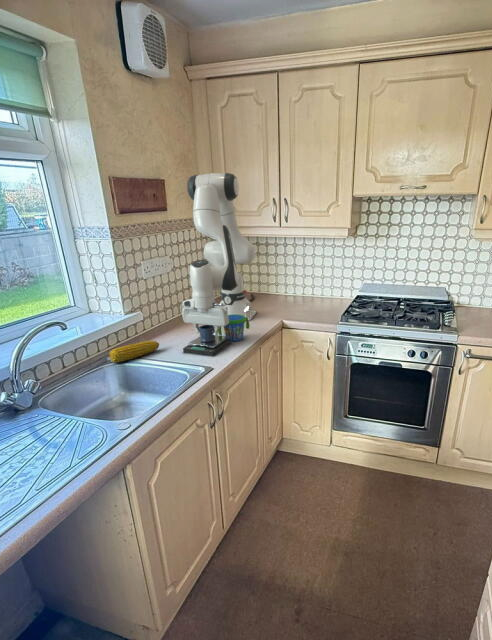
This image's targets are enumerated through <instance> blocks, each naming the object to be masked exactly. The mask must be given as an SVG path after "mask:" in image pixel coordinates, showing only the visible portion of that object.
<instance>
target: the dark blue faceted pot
mask: <svg viewBox="0 0 492 640" xmlns="http://www.w3.org/2000/svg"><path fill="white" fill-rule="evenodd" d="M215 329H216V328H214V325H203V324H202V325H200V326H199V332H200V334H199V337H200V339H201V341H205V342H208V341H213V340H215V335H213V331H214V330H215Z"/></svg>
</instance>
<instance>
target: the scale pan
mask: <svg viewBox="0 0 492 640" xmlns="http://www.w3.org/2000/svg"><path fill="white" fill-rule="evenodd" d="M227 338H228V337H226V335H222V336H221V335H217V336H215V340H213V341H208V342H205V341H201V339H200V336H197V337H196V338H195V339H193V340H191V341H189V342H188V343H187V346H188V345H190V346H198V347H207V348H214V347H216V346H217V345H219V344H220V343H222V342H223V341H224V340H226V339H227Z"/></svg>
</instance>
